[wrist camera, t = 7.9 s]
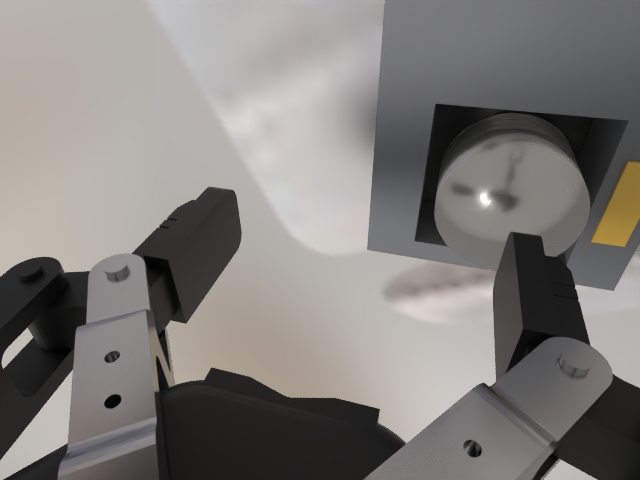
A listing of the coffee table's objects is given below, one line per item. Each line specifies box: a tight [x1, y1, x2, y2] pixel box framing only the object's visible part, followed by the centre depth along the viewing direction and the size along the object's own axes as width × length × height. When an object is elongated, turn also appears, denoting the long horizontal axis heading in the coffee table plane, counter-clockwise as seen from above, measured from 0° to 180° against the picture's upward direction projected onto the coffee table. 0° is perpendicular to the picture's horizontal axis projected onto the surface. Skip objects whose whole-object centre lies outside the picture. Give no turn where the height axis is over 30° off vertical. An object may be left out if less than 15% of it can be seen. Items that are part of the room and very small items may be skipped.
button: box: [434, 113, 590, 269], centre depth 15 cm, size 4×4×3 cm
